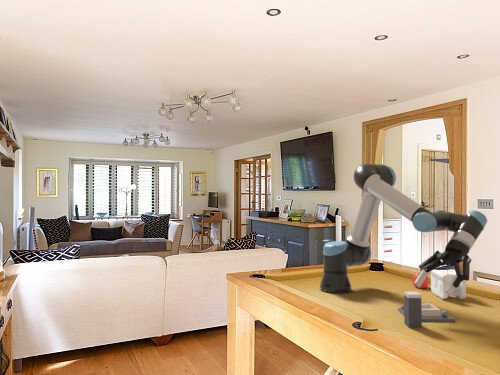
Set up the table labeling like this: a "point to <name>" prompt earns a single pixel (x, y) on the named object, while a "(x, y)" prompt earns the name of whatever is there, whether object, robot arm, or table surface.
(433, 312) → the board
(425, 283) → the apple
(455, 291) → the white notched block
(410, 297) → the tall square peg
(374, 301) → the table surface
